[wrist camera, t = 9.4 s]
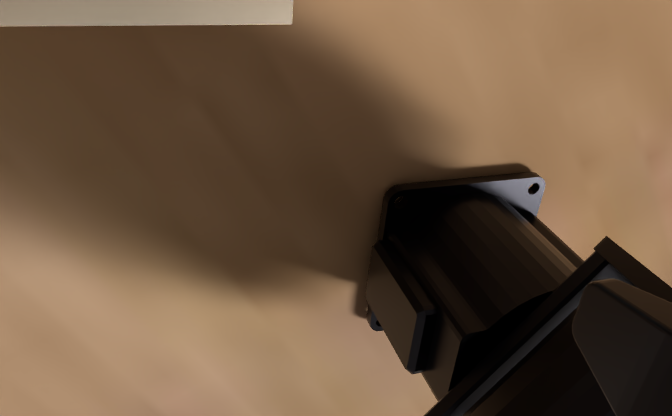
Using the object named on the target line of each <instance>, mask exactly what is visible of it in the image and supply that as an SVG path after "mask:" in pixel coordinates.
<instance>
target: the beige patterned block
mask: <svg viewBox="0 0 672 416" xmlns="http://www.w3.org/2000/svg"><path fill="white" fill-rule="evenodd" d="M292 16H293V0H0V26H146V25H292Z"/></svg>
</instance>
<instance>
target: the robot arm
mask: <svg viewBox="0 0 672 416" xmlns="http://www.w3.org/2000/svg"><path fill="white" fill-rule="evenodd" d="M532 184H533V185H532ZM530 185H532V187H530V188H529V186H530ZM528 188H529V189H528ZM544 189H545V181H544V179H542V178H541V177H540V176H539V175H538V174H536V173H534V172H527V173H517V174H506V175H495V176H485V177H474V178H463V179H453V180H442V181H431V182H420V183H410V184H399V185H395V186H393V187H391V188H390V189H388V191H387V192H386V193H385V196H384V199H383V206H382V213H381V220H380V227H379V234H378V240H377V241H376V242H375V243H374V245H373V246H372V252H371V259H370V266H369V273H368V281H367V288H366V295H365V297H366V300H367V302H368V311H367V321H368V323H369V325H370V327H371V328H372V329H373V330H375V331H383V330H384V332H385V334H386V335H387V337H388V339H389V341H390V343H391V344H392V346H393V348H394V350H395V351H396V353H397V355H398V357H399V359H400V360H401V362H402V364H403V366H404V367H405V369H406V370H407V371H409V372H410V373H411V374H416V373H422V375H423V377H424V379H425V380H426V382H427V384H428V385H429V387H430V389H431V390H432V392H433V394H434V396H435V397H436V399H437V401H438V402H437V403H436V404H435V405H434V406H433V407H432V408H431V409H430V410H429V411H428V412H427V413H426V414H425V415H424V416H672V288H671V287H670V286H669V285H668V284H666V283H665V282H664V281H662V280H661V279H660V278H659V277H657V276H656V275H655V274H654V273H652V272H651V271H650V270H649V269H647V268H646V267H645V266H644V265H642V264H641V263H640V262H639V261H637V260H636V259H635V258H634V257H632V256H631V255H630V254H629V253H627V252H626V251H625V250H623V249H622V248H621V247H620V246H618V245H617V244H616V243H615V242H613V241H612V240H611V239H610V238H608V237H607V236H606V237H605V238H604V239H603V240H602V241H601V242H600V243H599V244H598V245H596V246H595V247H594V248H593V249H594V250H595V252H594V253H593V254H592V255H591V256H590V257H588V258H587V259H586V260H585V261H583V260H582V259H581V258H580V257H579V256H578V255H577V254H576V253H575V252H574V251H573V250H571V249H570V248H569V247H568V246H567V245H566V244H565V243H564V242H563V241H562V240H561V239H560V238H559V237H557V236H556V235H555V234H554V233H553V232H552V231H551V230H550V229H549V228H548V227H547V226H546V225H545V224H543V223H542V222H541V221H540V220H539V219H538V218H537V217H536V216H537V213H538V209H539V206H540V203H541V199H542V196H543V192H544ZM401 196H403V198H402V200H401V201H399V202H397V203H395V200H396V199H397V198H398V197H401Z"/></svg>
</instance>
